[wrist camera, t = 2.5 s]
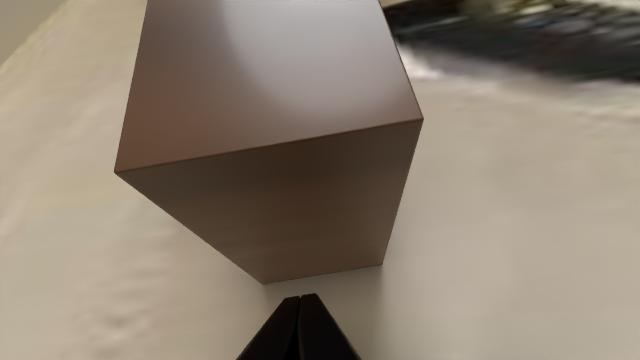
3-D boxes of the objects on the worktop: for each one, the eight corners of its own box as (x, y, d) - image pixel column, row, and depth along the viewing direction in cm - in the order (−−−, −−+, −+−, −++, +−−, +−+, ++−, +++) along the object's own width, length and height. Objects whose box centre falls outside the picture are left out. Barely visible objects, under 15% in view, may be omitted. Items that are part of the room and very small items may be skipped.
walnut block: (382, 264, 18) (425, 118, 7) (261, 284, 19) (112, 173, 7) (355, 149, 22) (355, -66, 11) (256, 166, 22) (152, -28, 11)
